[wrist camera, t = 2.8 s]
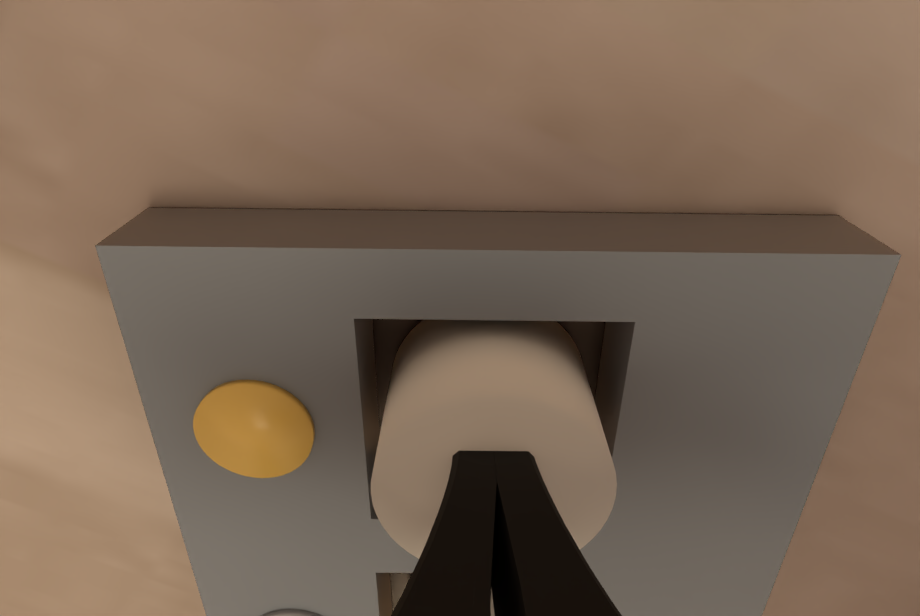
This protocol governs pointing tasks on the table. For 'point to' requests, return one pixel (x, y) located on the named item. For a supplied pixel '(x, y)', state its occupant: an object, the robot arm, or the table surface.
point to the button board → (490, 298)
